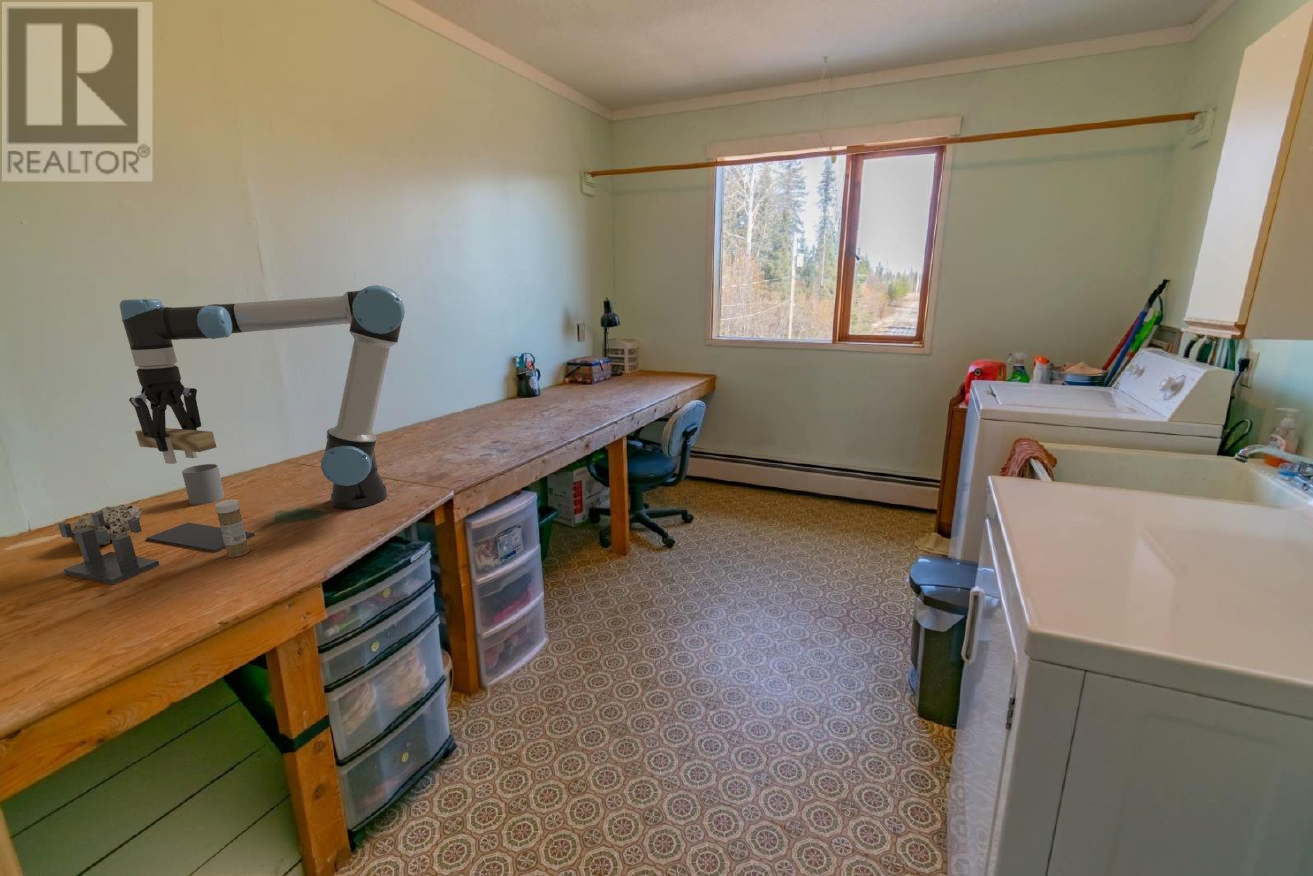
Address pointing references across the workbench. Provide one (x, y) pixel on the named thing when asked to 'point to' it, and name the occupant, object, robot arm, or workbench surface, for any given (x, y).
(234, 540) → the sprinkles bottle
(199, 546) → the mat
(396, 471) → the workbench surface
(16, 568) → the workbench surface
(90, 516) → the pumice stone
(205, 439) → the rail
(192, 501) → the cup
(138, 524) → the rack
